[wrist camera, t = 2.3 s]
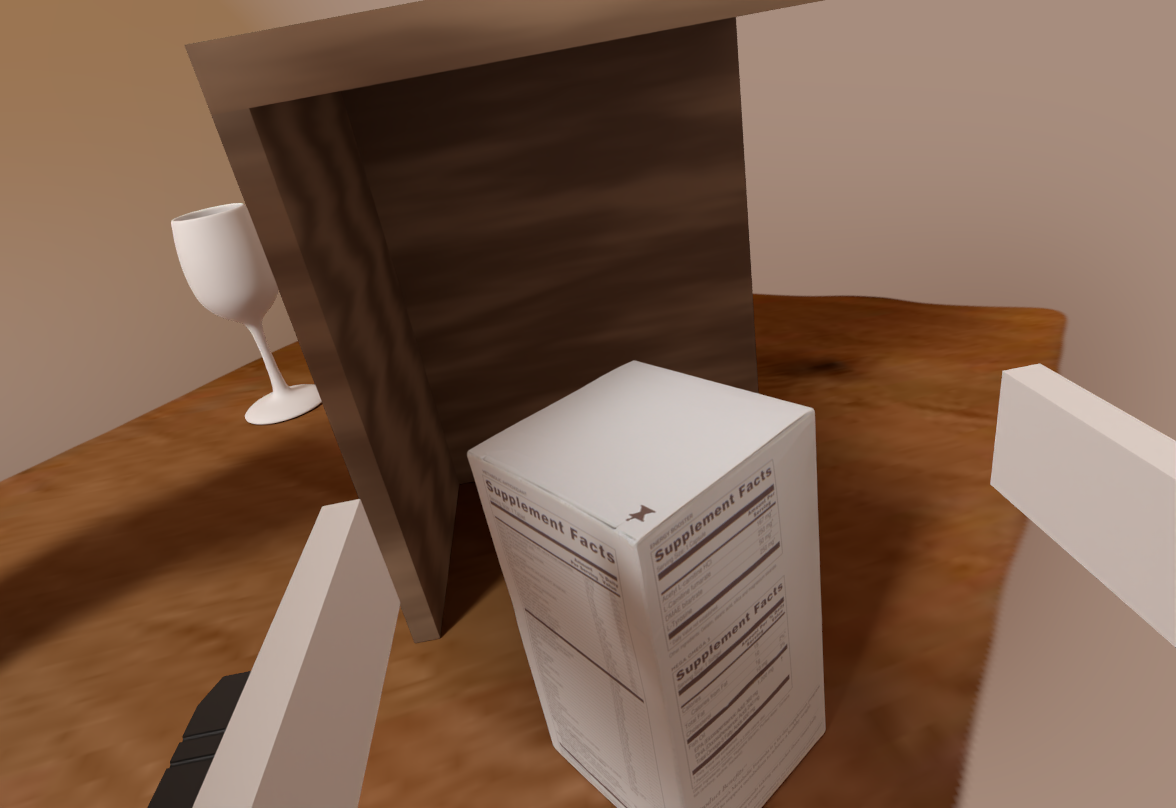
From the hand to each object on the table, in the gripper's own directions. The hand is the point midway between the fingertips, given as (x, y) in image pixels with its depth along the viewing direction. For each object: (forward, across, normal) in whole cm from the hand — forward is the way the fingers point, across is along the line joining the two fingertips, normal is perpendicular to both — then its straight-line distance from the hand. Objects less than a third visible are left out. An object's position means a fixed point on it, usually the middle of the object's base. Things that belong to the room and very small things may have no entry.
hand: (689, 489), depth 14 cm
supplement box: (+10, 0, -21) cm, 23 cm away
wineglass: (+59, -33, -20) cm, 70 cm away
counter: (+28, -1, -20) cm, 35 cm away
